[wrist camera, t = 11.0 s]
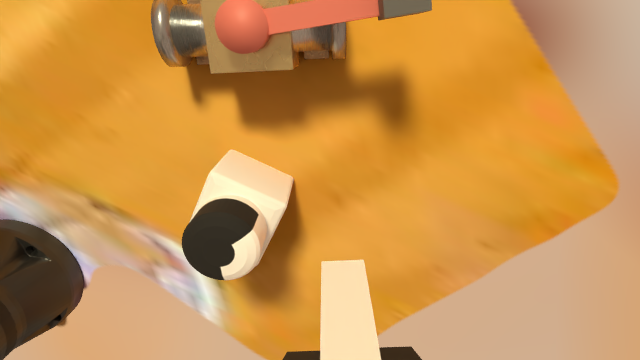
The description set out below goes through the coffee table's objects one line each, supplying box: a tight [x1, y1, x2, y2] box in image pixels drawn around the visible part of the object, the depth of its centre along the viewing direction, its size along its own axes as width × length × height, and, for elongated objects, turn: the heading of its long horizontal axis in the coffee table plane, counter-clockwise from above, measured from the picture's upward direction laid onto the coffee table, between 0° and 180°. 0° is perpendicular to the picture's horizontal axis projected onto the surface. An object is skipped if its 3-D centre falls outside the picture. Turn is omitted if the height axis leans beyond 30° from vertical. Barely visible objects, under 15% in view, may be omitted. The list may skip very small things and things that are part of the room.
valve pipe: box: [151, 0, 346, 74], centre depth 33 cm, size 16×7×6 cm, turn 93°
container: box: [182, 149, 294, 280], centre depth 36 cm, size 8×8×13 cm
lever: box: [215, 0, 432, 54], centre depth 28 cm, size 16×4×4 cm, turn 99°
